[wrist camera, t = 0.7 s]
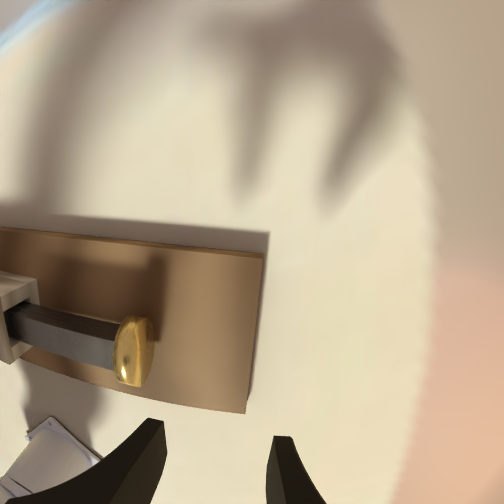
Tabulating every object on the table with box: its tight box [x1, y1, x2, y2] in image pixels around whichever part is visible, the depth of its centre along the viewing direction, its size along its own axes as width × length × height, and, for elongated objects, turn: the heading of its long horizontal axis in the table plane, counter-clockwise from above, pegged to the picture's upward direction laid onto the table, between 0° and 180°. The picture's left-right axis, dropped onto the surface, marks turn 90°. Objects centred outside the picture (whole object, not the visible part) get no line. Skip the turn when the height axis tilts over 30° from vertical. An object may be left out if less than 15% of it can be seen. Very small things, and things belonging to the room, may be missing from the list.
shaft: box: [3, 301, 155, 387], centre depth 16 cm, size 12×4×4 cm, turn 85°
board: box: [0, 227, 263, 414], centre depth 16 cm, size 25×11×6 cm, turn 85°
